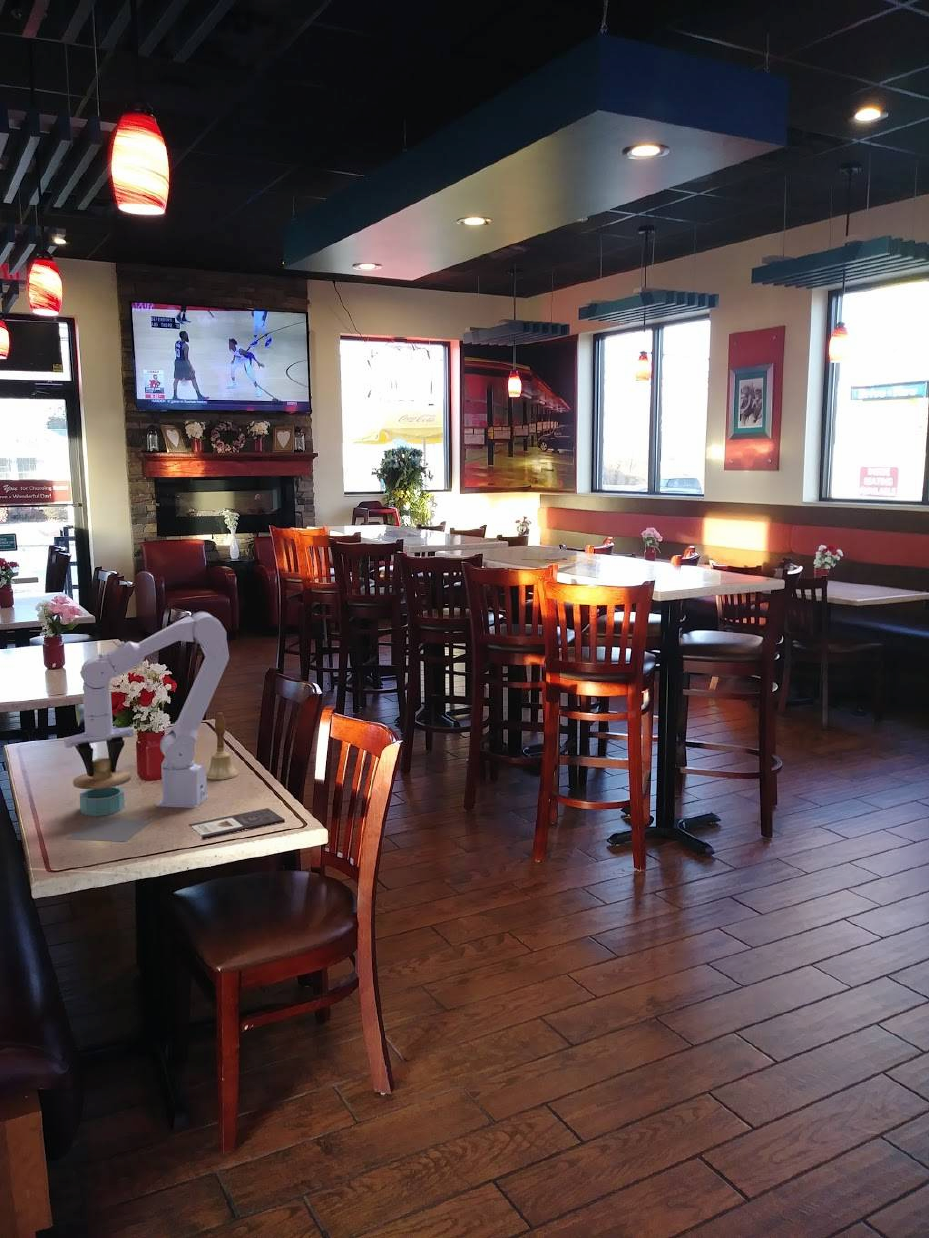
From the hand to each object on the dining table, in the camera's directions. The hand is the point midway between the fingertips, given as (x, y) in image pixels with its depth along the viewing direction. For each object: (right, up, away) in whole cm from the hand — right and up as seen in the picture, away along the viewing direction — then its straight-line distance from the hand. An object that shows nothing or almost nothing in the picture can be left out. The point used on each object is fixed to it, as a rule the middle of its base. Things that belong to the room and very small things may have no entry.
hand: (101, 773), depth 216 cm
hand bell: (+19, -5, +29) cm, 35 cm away
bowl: (-1, -9, +3) cm, 9 cm away
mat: (+6, -11, -10) cm, 15 cm away
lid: (0, -2, 0) cm, 2 cm away
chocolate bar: (+31, -11, -6) cm, 34 cm away
